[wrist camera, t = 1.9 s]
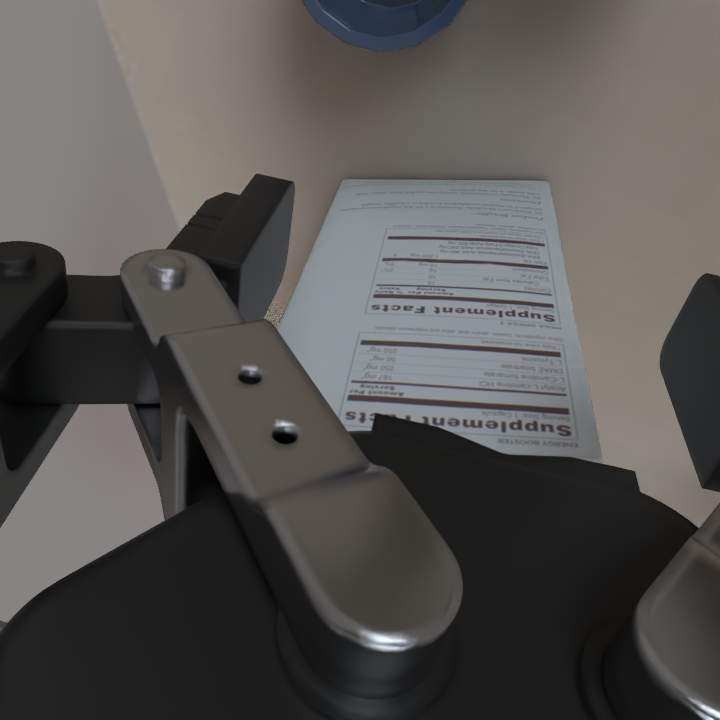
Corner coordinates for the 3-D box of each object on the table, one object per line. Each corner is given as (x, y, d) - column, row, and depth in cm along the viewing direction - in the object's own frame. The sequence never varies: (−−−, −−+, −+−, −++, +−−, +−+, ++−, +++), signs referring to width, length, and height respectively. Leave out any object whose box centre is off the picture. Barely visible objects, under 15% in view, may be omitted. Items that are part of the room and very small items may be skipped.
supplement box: (337, 173, 30) (216, 426, 17) (553, 174, 29) (611, 451, 15) (351, 351, 36) (268, 648, 22) (531, 359, 34) (560, 681, 21)
